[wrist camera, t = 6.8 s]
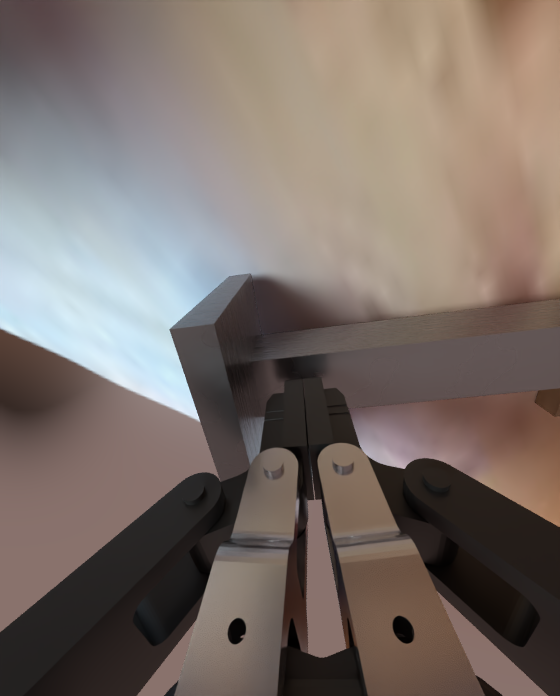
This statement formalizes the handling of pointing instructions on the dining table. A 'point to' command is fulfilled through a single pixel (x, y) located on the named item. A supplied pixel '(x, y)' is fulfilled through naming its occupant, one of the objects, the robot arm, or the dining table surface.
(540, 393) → the bearing stand
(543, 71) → the dining table surface
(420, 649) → the robot arm
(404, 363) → the drawbar
